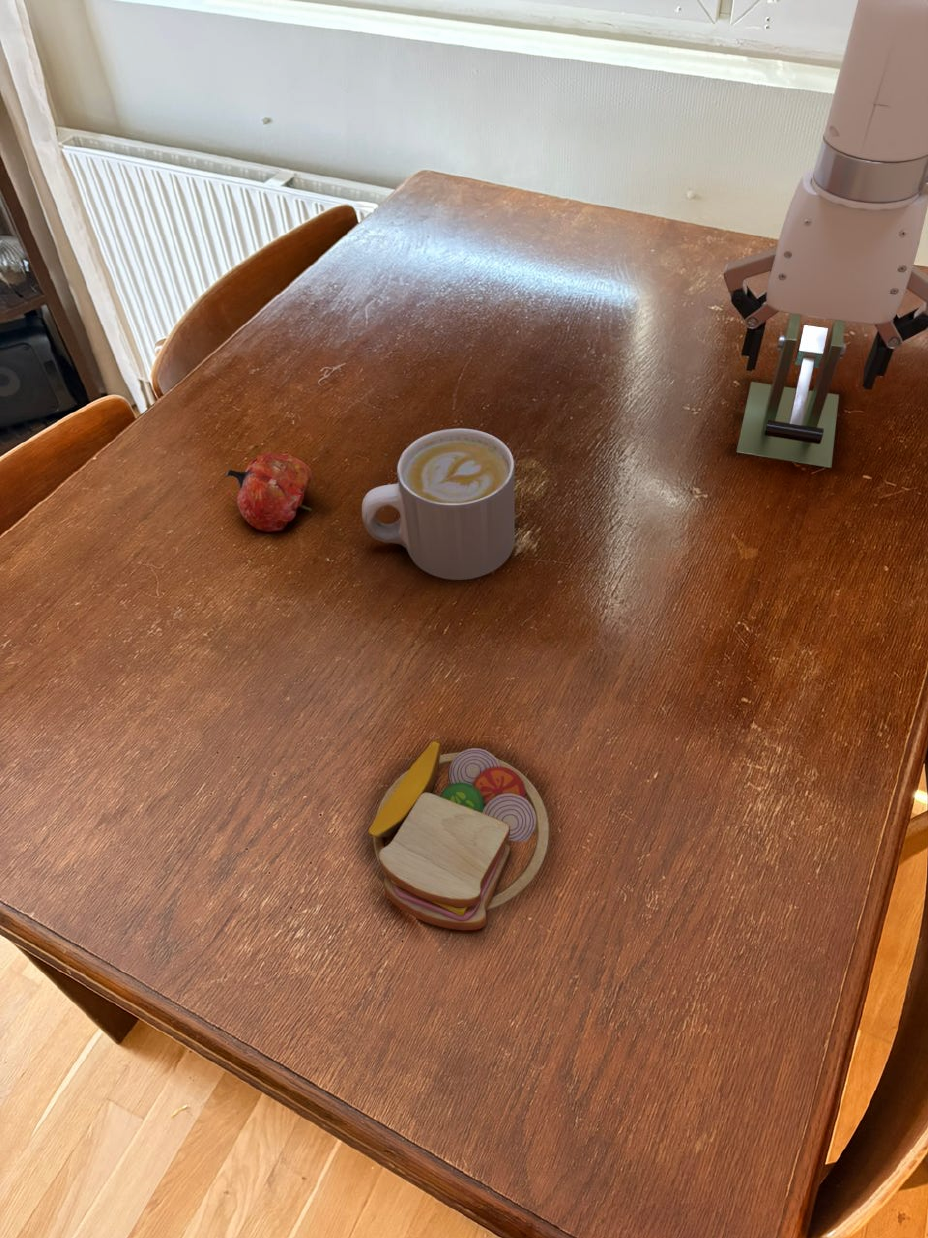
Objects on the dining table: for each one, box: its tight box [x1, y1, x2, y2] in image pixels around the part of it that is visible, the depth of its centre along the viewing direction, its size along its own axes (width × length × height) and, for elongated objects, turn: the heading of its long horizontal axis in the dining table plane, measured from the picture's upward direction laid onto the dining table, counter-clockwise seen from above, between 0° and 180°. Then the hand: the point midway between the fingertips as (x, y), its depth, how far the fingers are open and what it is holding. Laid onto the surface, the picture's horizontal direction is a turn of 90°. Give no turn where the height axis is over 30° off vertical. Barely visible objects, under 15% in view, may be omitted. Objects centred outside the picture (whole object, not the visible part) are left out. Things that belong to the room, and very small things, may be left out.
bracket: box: [735, 314, 848, 469], centre depth 87 cm, size 12×9×12 cm
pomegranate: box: [224, 453, 313, 533], centre depth 84 cm, size 7×7×10 cm
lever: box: [764, 324, 829, 444], centre depth 83 cm, size 11×5×2 cm, turn 162°
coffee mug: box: [361, 427, 516, 581], centre depth 80 cm, size 13×10×10 cm
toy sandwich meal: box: [368, 740, 550, 931], centre depth 63 cm, size 12×14×5 cm
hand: (808, 370), depth 77 cm, fingers open, 9 cm apart
